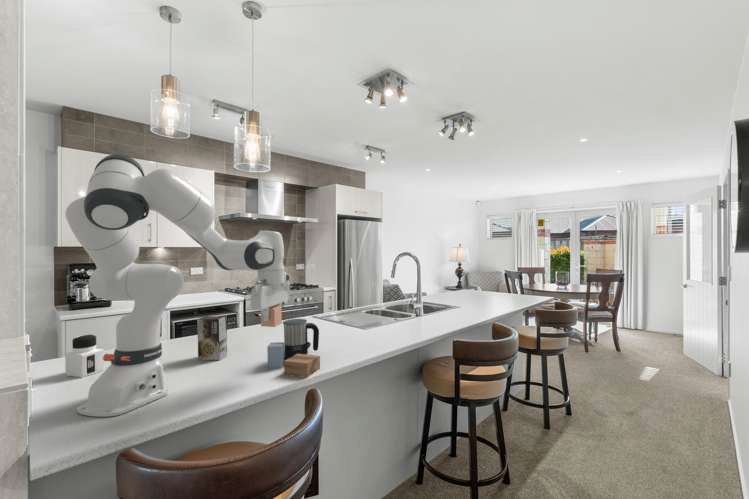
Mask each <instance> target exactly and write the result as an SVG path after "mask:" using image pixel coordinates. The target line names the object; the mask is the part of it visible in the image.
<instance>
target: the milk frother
mask: <svg viewBox="0 0 749 499" xmlns="http://www.w3.org/2000/svg"><path fill="white" fill-rule="evenodd" d="M307 321H308V320H307V319H305V318H292V319H291V318H290V319H286V320H284V321H282V325H283V335H284V336H283V338H284V339H283V340H284V341H283V342H284V361H285V360H287V359H289V358H291V357H292V356H294V355H296V354H307V355H309V354H308V349H309V348H310V347H311V345H312V349H313V351H314V352H316V351H318V350H319V344H320V343H319V341H320V329H319V328H318V326H317V325H316V324H315V323H313V322H307ZM309 329H311V330H312V331H313V332H312V333H313V334H312V335H313V336H312V339H313V340H312V343H311V342H310V341H308V330H309Z"/></svg>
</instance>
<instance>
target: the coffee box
mask: <svg viewBox="0 0 749 499" xmlns="http://www.w3.org/2000/svg"><path fill="white" fill-rule="evenodd" d="M227 317H228V316H227V315H205V316H202V317H200V318H197V319H196V322H197V324H196V325H197V327H196V328H197V360H199V361H220V360H222V359H224V358H226V357H227V356H228V332H227V331H228V329H227V328H228V327H227V325H228V323H227V321H228V320H227V319H228V318H227Z"/></svg>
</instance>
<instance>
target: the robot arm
mask: <svg viewBox="0 0 749 499" xmlns="http://www.w3.org/2000/svg"><path fill="white" fill-rule="evenodd" d="M150 211H154V212H156V213H158V214H160V215H161V216H163V218H165V219H167V220H168V221H169V222H171V223H173V224H174V225H175V226H177V227H178V228H180V229H181V230H182V231H183V232H185V234H186V235H188V236H189V237H190V238H191V239H192V240H193V241H195V242H196V243H197V244H199V245H200V247H202V248H203V249H205V251H207V252H208V253H209V255H211V256H212V257H213V260H215V263H216V264H217V265H218V266H219V267H220V268H221V269H223V270H225V271H251V272H252V271H253V272H254V271H257V273H256V274H257V276H256V277H257V280H256V282H255V284H253V287H252V289H251V296H250V308H251V310H252V311H260V313H261V312H262V315H263V320H264V321H269V320H270V315H269V313H268V311H269V307H271V306H281V307H282V303H284V302H287V301H288V300H289V299H290V296H291V295H290V294H291V293H290V292H291V291H290V290H291V287H290V286H291V285H290V282H289V281H291V275H290V274H289V273H287V272H285V266H284V258H285V245H284V240H283V239H284V238H283V235H282V233H280V232H279V231H276V230H271V229H261V230H259V231H258V233H257V234H256V235H254V236H253V237H251V238H249V239H248V240H246V239H245V240H236V239H229V238H225V237H223V236H222V235H221V234H220V233H219V232H218V231H217V230H216V229H214V228H213V226H212V224H213V222H214V221H215V217H216V207H215V204H214V203H213V201H212V200H211V199H210V198H209V197H208V196H207V195H206V194H204V192H202V191H201V190H200V189H198V188H197V187H196V186H195V185H194V184H192V183H191V182H189V181H188V180H187V179H185V178H183V177H182V176H180V175H178V174H177V173H175V172H174V171H172V170H169V169H167V168H159V169H155V170H153V171H151V172H150V173H147V174H146V175H145V173H144V169H143V167H142V166H141V164H140V163H139V162H138V161H137V160H136V159H134V158H132V157H131V156H128V155H125V154H119V153H117V154H116V153H114V154H110V155H109V154H108V155H107V156H105V157H103V158H102V159H100V161H98V163H97V164H96V166H95V168H94V170H93V173H92V174H91V177H90V178H89V182H88V186H87V190H86V196H82V197H79V198H77V199H75V200H73V201H72V202H70V204H69V205H67V207H66V209H65V213H64V214H65V218H66V221H67V223H68V226H69V227H70V230H71V232H72V233H73V235H74V237H75V238H76V240H77V241H78V243H79V244H80V246H81V247H83V249H84V250H85V252H86V253H87V255H89V257H90V258H91V260H92V262H93V263H94V264H95V267H96V268H95V269H94V271H92V273H91V275H90V277H89V281H88V284H89V285H88V287H89V290H90V291H91V293H92V295H93V296H94V297H96V298H98V299H102V300H107V301H113V302H114V301H115V302H116V301H118V302H119V301H132V302H133V301H134V304H133V309H132V311H131V312H129V313H127V314H125V315H124V316H122V317H121V318H119V320H118V321H117V323H116V326H115V329H116V330H115V332H116V333H115V336H116V340H115V341H116V343H115V345H116V346H115V347H116V348H115V349H114V351H113V353H105V354H104V356H103V357H104V358H103V360H104V362H110V365H109V366H108V367H107V368H106V370H105V369H104V372H103V373H102V374H100V376H99V377H98V378H97V379H96V380H94V382H92V384H91V385H90V387H89V388H88V389H89V390H88V395H87V401H86V402H84V403H82V404H80V405H78V406H77V408H76V413H77V414H79V415H83V416H86V417H87V416H88V417H99V418H100V417H103V418H105V417H116V416H120V415H122V414H125V413H128V412H129V411H131V410H135V409H138V408H139V407H142V406H144V405H146V404H149V403H151V402H154V401H156V400H158V399H161V398H164V397H165V396H167V395H168V394H169V390H168V389H167V388H168V387H167V385H166V380H165V373H164V367H163V364H162V358H161V356H162V353H163V347H162V342H161V324H162V322H161V321H162V316H163V315H164V311H165V310H166V307H167V306H168V304H169V303H170V302H172V300H174V299H175V298H176V297H177V296H178V295H180V293H181V292H182V290H183V287H184V284H185V283H184V282H185V281H184V276H183V273H182V271H181V270H180V268H178V267H177V266H173V265H169V264H162V263H136V262H135V261H136V260H137V258H138V257H139V254H140V245H139V243H138V241H137V239H136V238H135V236H134V235H133V233H132V231H131V230H130V228H129V227H132V225H134V224H136V223H137V222H139V221H141V220H144V219H146V218H147V217H148V216H149V214H150Z"/></svg>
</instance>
